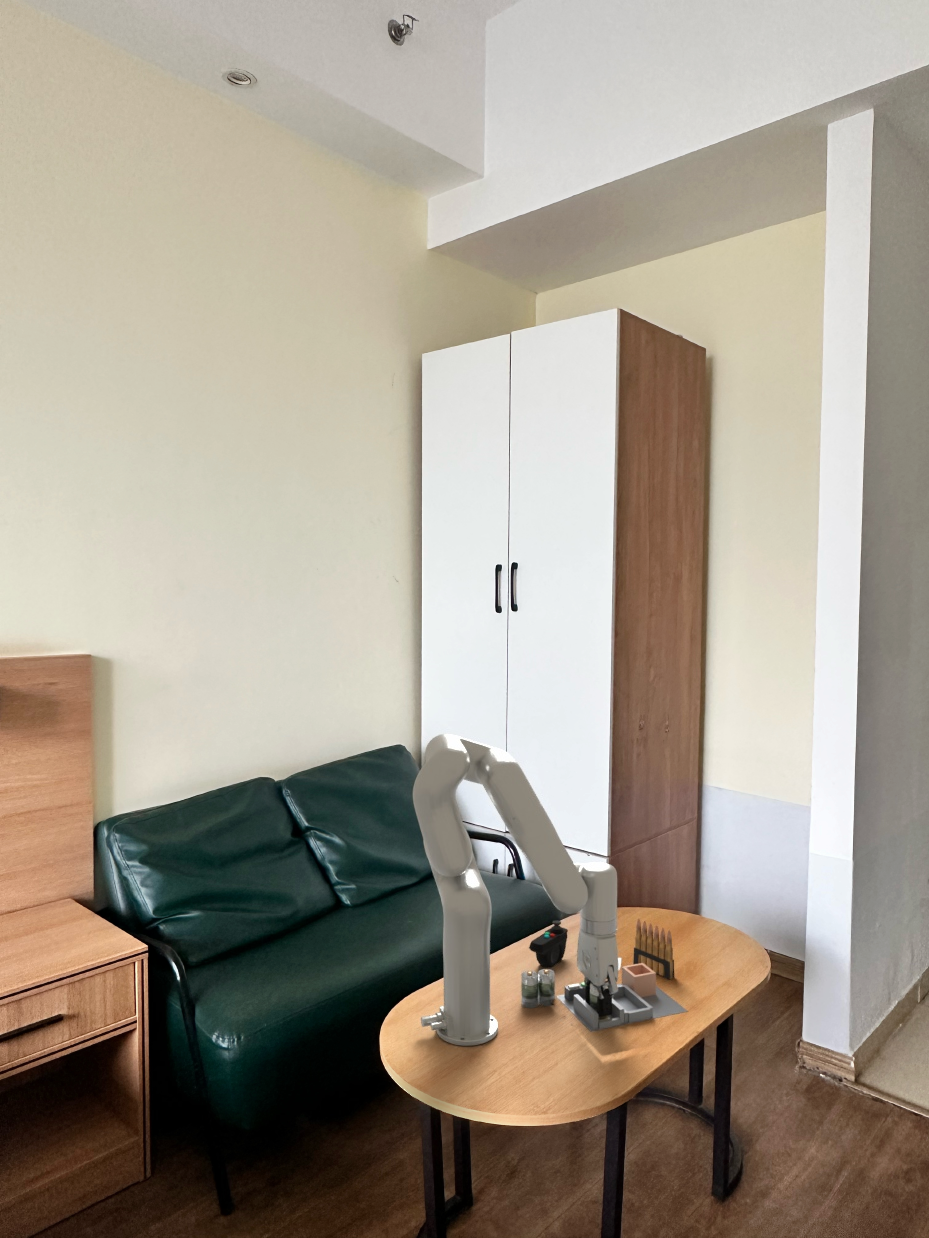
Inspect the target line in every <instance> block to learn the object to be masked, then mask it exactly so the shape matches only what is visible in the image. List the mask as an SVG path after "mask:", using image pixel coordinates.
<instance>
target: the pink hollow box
mask: <svg viewBox="0 0 929 1238" xmlns="http://www.w3.org/2000/svg"><path fill="white" fill-rule="evenodd" d="M621 983H622V985H627V986H628V987H629V988H630V989H632V990H633V991H634V992H635V993H636V994H637V995H639V996H640V997H645V996H650V995H655V994H656V986H657V974H656V973H655V972H654V971H653V970H651V969H650V968H649V967H648V966H646V965H645V964H644V963H639V964H628V965H624V966H621Z"/></svg>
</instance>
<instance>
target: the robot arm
mask: <svg viewBox="0 0 929 1238" xmlns="http://www.w3.org/2000/svg"><path fill="white" fill-rule="evenodd" d="M424 759H425V763H424V765H423V766H422V767H421V768H420V770H419V772H418V773H417V776H416V778H415V780H414V784H413V788H412V801H413V802H412V803H413V807H414V810H415V814H416V818H417V821H418V825H419V829H420V831H421V835H422V839H423V841H422V842H423V847H424V852H425V854H426V858H427V859H428V862H429V866H430V868H431V871H432V876H433V878H434V881H435V883H436V886H437V891H438V893H439V897H440V900H441V901H440V902H441V906H442V912H443V929H442V930H443V931H442V932H443V933H442V934H443V935H442V955H443V956H442V958H443V1005H442V1006H439V1011H438V1012H435V1014H432V1015H425V1016H421V1017H420V1024H421V1027H422V1028H425V1027H429V1026H430V1030H431V1031H436V1034H437V1035H438V1037H439V1038H440V1039H441V1040H443V1041H445V1042H447V1043H449V1044H452V1045H456V1046H467V1047H469V1046H472V1047H473V1046H477V1045H482V1044H485V1043H488V1042H489V1041H491V1040H492V1039H494V1038H495V1037H496V1035H497V1034H498V1032H499V1024H498V1021H497V1019H496V1018H495V1017H494V1016H492V1015H491V955H490V954H491V953H490V952H491V951H490V950H491V942H490V941H491V925H492V902H491V897H490V894H489V891H488V889H487V887H486V885H485V882H484V881H483V878H482V876H481V873H480V870H479V867H478V863H477V860H476V857H475V854H474V852H473V845H472V841H471V839H470V836H469V832H468V831H467V829H466V827H465V825H464V821H463V819H462V815H461V813H460V808H459V806H458V801H457V798H456V797H457V796H456V793H457V790H458V788H459V786H460V784H461V783H462V782H463V781H468V782H471V783H474V784H475V783H476V784H478V785H482V786H483V788H484V791H486V793H487V795H488V797H489V799H490V800H491V802H492V804H493V806H494V808H495V809H496V811H497V813H498V814H499V817H500V818H501V819H502V822H503V823H504V825H505V827H506V829H507V830H508V832H509V834H510V836H511V837H512V839H513V841H514V843H515V844H516V846H517V847H518V849H519V851H521V852H522V854H523V855H524V857H525V858H526V860H528V862H529V864H530V865H531V867H532V869H533V870H534V872H535V873H536V876H537V877H538V879H539V880H540V882H541V885H542V887H543V889H544V891H545V892H546V894H547V896H548V897H549V899H550V901H551V902H552V904H553V906H555V908H556V909H557V910H558V911H560V912H562V913H564V914H567V915H568V914H575V913H580V915H579V916H580V919H579V921H580V926H579V931H578V936H577V937H578V938H577V953H576V957H577V958H576V966H577V969H578V971H579V972H580V973H582V975H583V976H584V981H583V982H584V983H585V985H587V986H585V1002H586V1003H587V1004H588V1005H590V983H591V982H592V983H594V984H595V985H596V986H598V991H599V997H597V1013H598V1016H599V1017H603V1016H608V1015H611V1014H612V997H613V994H614V993H616V992H618V987H617V984H618V979H619V970H618V958H619V952H618V943H617V933H618V873H617V870H616V868H615V866H613V865H612V864H609V863H607V862H603V861H591V862H587V863H581V862H574V861H573V859H572V858H571V856H570V854H569V852H568V850H567V849H566V847H565V846H564V843H563V842H562V840H561V838H560V836H559V834H558V832H557V830H556V828H555V826H554V824H553V822H552V821H551V818H550V816H549V815H548V813H547V811H546V809H545V808H544V806H543V804H542V803H541V801H540V799H539V798H538V796H537V793H536V792H535V791H534V789H533V787H532V785H531V783H530V782H529V780H528V778H527V776H526V774H525V773H524V771H523V769H522V768H521V765H520V764H519V763H518V762H517V760H516V759H515V758H514V757H513V756H512V755H511V754H510V753H508V752H507V751H505V750H503V749H500V748H497V747H494V746H490V745H487V744H484V743H480V742H477V741H475V740H474V741H473V740H471V739H467V738H465V737H464V738H463V737H461V736H458V735H455V734H454V735H453V734H451V733H450V734H449V733H443V734H439V735H436V736H434V737H432V739H430V740H429V742H428V743H427V745H426V747H425V751H424ZM606 985H608V988H607V989H605V990H604V991H603V986H606Z"/></svg>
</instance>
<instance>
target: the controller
mask: <svg viewBox="0 0 929 1238" xmlns="http://www.w3.org/2000/svg"><path fill="white" fill-rule="evenodd" d="M561 924H562V921H561V920H552V925H553V926H551V927H550V928H549V929H547V930H545V931H544V932H543V933H542V934H541V935H539V936H537V937H536V938H534V939H533V940H531V941H530V944H529V946H528V949H529V950H530V951H531V952H533V953H535V957H536V961H537V962H538V964H539V965H540V966H542V967H544V968H546V969H550V968H553V967H555V966H556V965H558V964H559V963H561V962H562V960H563V958H564V956H565V954H566V953H565V952H566V948H567V941H568V931H569V929H567V928H565V927H562V926H560V925H561Z"/></svg>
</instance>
